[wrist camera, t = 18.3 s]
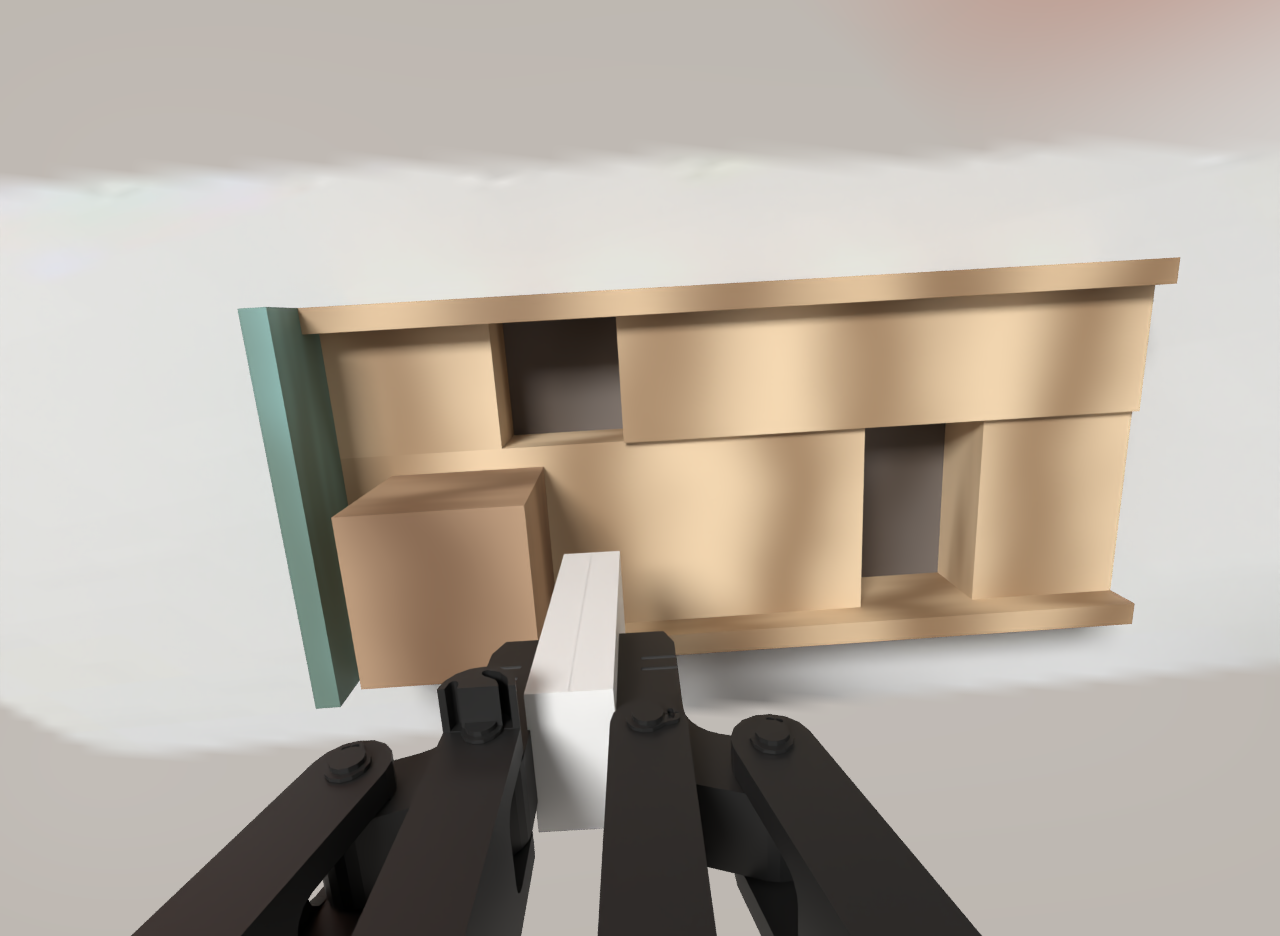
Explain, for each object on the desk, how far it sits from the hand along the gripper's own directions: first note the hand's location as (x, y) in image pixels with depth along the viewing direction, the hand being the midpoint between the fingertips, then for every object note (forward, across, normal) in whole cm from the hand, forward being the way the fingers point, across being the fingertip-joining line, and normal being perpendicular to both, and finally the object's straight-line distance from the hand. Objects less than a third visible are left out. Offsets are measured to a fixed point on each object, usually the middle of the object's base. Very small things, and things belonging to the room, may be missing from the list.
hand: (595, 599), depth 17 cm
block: (+5, +4, 0) cm, 6 cm away
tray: (+7, -4, -2) cm, 9 cm away
